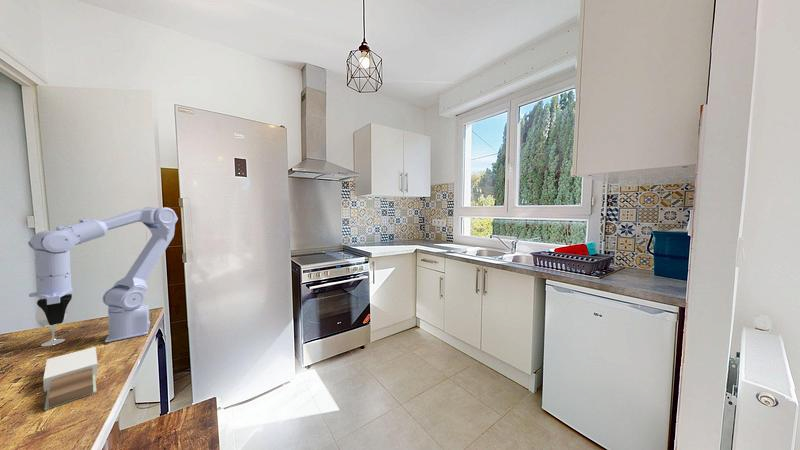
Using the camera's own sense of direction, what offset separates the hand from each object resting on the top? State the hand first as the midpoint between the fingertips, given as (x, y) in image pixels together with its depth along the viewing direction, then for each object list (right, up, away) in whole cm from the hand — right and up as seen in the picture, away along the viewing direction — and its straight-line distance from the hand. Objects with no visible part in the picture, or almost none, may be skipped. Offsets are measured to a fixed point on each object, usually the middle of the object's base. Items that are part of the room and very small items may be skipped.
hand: (56, 323), depth 71 cm
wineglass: (-12, -9, +9) cm, 18 cm away
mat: (+19, -11, -12) cm, 25 cm away
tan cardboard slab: (+20, -11, -12) cm, 25 cm away
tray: (+11, -11, -5) cm, 16 cm away
